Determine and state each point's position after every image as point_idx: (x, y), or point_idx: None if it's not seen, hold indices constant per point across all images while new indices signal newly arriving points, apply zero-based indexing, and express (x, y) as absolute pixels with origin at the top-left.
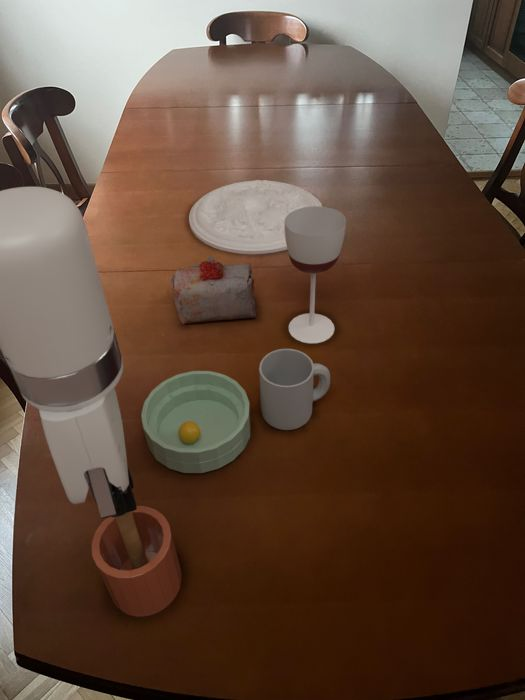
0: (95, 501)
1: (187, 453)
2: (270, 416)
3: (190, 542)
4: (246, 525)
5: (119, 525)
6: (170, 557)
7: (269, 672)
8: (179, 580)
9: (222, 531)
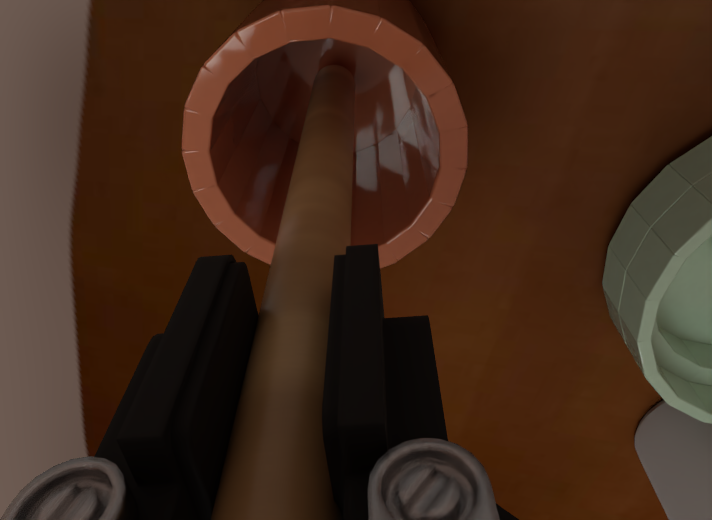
0: (152, 364)
1: (659, 270)
2: (686, 425)
3: None
4: (427, 310)
5: (287, 210)
6: None
7: (111, 302)
8: None
9: (427, 263)
